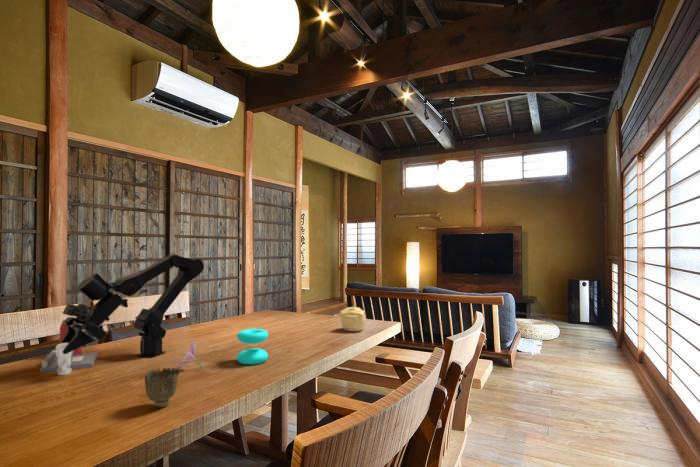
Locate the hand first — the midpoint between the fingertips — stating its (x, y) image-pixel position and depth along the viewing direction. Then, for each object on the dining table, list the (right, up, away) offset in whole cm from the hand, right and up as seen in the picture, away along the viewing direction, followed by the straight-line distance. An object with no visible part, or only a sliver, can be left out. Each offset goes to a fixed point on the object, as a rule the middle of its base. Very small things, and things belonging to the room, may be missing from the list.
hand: (60, 351), depth 117 cm
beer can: (-12, -8, +21) cm, 26 cm away
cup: (+41, -6, -23) cm, 47 cm away
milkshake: (+1, -7, +1) cm, 7 cm away
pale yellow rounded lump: (+87, -9, +64) cm, 108 cm away
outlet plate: (-5, -7, +11) cm, 14 cm away
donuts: (+53, -8, +14) cm, 56 cm away
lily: (+36, -7, +5) cm, 37 cm away
